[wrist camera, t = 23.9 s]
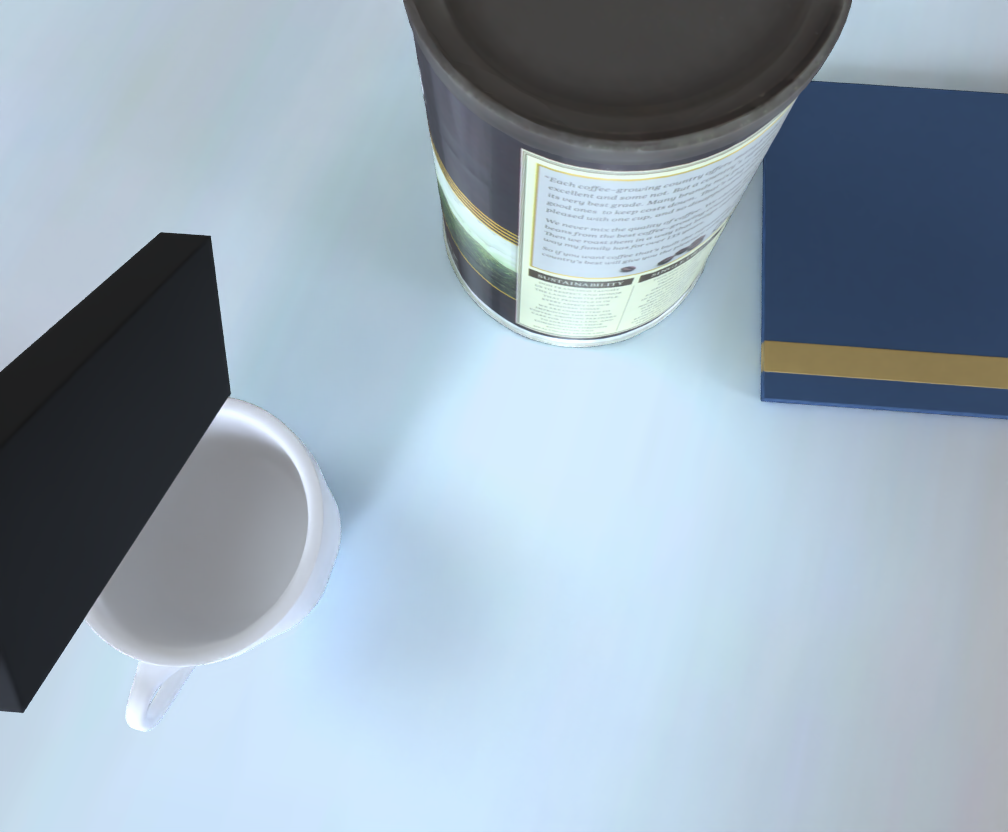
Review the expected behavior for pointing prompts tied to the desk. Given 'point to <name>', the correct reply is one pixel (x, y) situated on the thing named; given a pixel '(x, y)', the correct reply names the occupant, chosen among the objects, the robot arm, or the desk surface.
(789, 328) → the blue flat rectangular block
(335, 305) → the desk surface
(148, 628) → the teacup
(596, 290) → the coffee can
